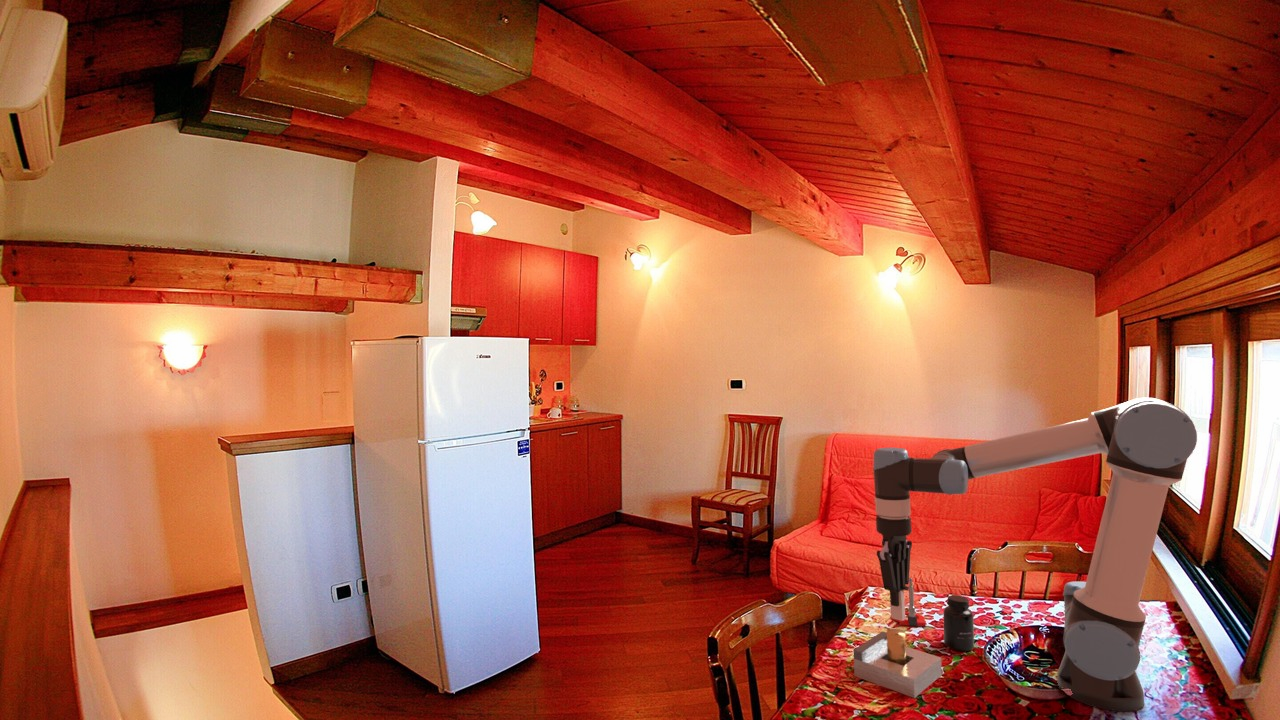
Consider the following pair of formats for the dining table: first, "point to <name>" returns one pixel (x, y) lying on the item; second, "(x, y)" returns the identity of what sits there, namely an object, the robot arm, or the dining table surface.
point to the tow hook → (912, 611)
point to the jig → (895, 667)
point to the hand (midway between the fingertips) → (898, 618)
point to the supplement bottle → (958, 624)
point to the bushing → (896, 646)
